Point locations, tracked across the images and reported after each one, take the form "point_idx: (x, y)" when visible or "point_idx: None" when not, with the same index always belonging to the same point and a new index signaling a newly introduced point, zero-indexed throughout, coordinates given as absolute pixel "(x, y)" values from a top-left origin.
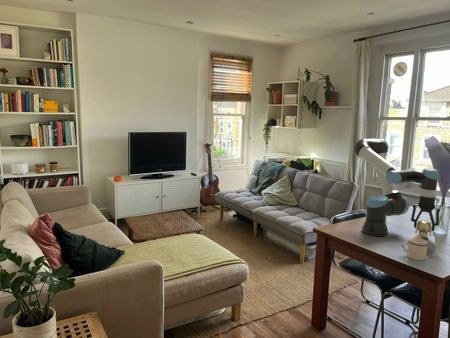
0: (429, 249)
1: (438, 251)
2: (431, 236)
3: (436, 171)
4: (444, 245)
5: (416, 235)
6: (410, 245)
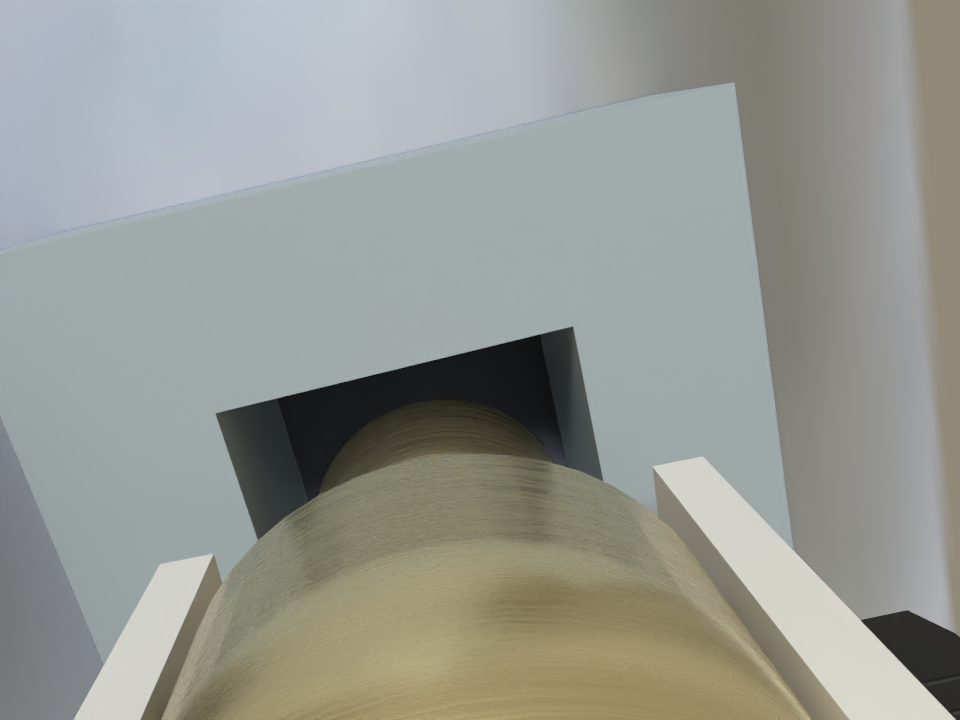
0: None
1: (814, 543)
2: (638, 183)
3: None
4: (885, 8)
5: (224, 492)
6: None
